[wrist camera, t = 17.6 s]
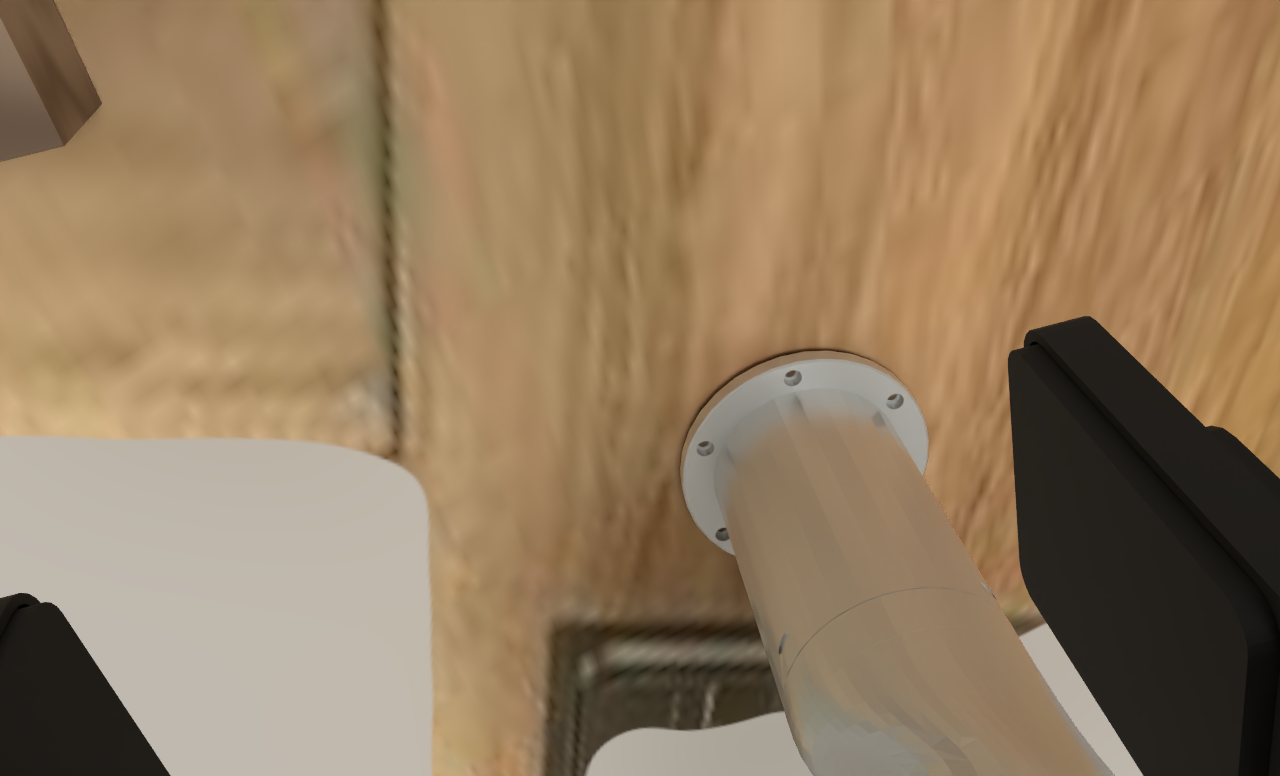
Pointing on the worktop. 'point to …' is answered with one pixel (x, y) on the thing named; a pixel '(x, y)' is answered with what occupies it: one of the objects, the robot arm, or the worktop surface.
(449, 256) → the worktop surface
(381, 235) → the worktop surface
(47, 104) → the holder
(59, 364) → the worktop surface
